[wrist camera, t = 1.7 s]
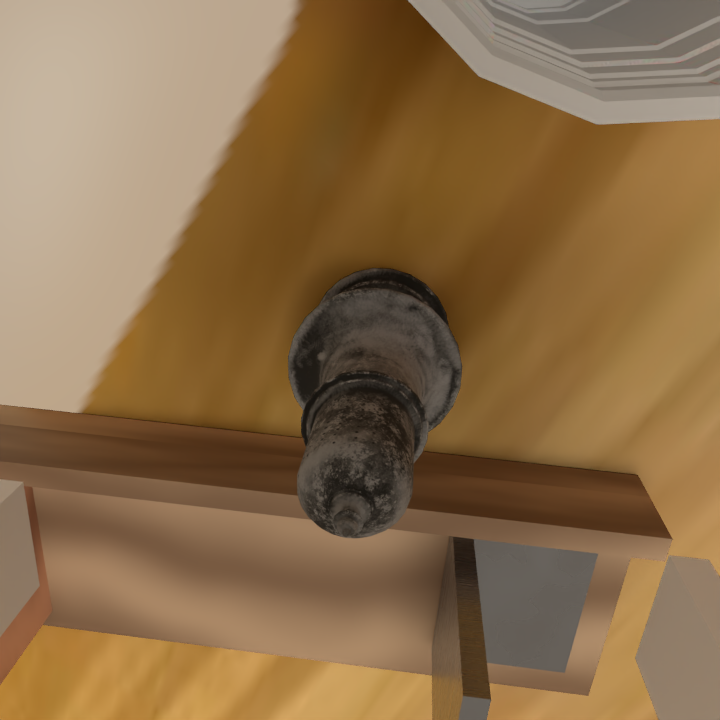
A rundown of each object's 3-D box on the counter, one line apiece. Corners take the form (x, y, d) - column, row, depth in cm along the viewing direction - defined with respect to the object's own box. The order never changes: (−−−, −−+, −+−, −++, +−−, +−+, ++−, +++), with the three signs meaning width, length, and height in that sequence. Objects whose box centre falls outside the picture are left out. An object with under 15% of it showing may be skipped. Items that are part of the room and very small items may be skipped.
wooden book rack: (-108, 392, 28) (-478, 607, 16) (637, 475, 26) (803, 780, 15) (-60, 586, 32) (-324, 861, 21) (580, 668, 31) (674, 1017, 19)
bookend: (452, 521, 26) (463, 696, 18) (598, 538, 25) (668, 722, 18) (431, 648, 28) (434, 843, 21) (562, 665, 28) (611, 869, 21)
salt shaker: (486, 353, 25) (536, 570, 14) (363, 426, 26) (321, 670, 15) (399, 228, 23) (377, 361, 12) (275, 315, 25) (157, 500, 14)
